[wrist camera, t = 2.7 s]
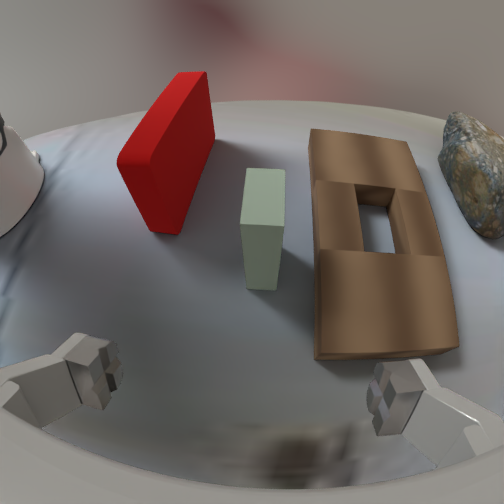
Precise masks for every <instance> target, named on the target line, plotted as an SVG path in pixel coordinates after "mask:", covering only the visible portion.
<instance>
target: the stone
mask: <svg viewBox="0 0 504 504" xmlns="http://www.w3.org/2000/svg"><path fill="white" fill-rule="evenodd" d="M438 162H439V165H440V168H441V171H442V173H443V175H444V176H445V179H446V181H447V183H448V185H449V187H450V189H451V191H452V192H453V194H454V197H455V199H456V202H457V204H458V206H459V208H460V209H461V211H462V213H463V215H464V216H465V218H466V220H467V222H468V223H469V224H470V226H471V227H472V228H473V229H474V230H475V231H476V232H478V233H479V234H481V235H482V236H485V237H487V238H491V239H497V238H500V237H502V236H503V235H504V140H503V139H502V138H501V137H500V136H499V135H498V134H497V133H495V132H494V131H493V130H491V129H490V128H489V127H488V126H486V125H485V124H483V123H482V122H480V121H479V120H477V119H475V118H473V117H471V116H468V115H466V114H464V113H461V112H451V113H450V115H449V116H448V119H447V122H446V125H445V127H444V134H443V149H442V151H441V152H440V154H439V156H438Z"/></svg>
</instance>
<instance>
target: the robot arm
mask: <svg viewBox="0 0 504 504" xmlns="http://www.w3.org/2000/svg"><path fill="white" fill-rule="evenodd" d="M43 178H44V171H43V168H42V166H41V165H40V164H39V154H38V153H37V152H36V151H35V150H34V151H30V150H29V149H28V147H27V146H26V145H25V143H24V142H23V141H22V139H21V138H20V137H19V135H18V134H17V133H16V132H15V130H14V129H13V128H12V127H11V126H4V120H3V118H2V117H1V114H0V237H1V236H2V235H4V234H5V233H6V232H8V231H9V230H10V229H11V228H12V227H13V226H14V225H15V224H16V223H17V222H18V221H19V220H20V219H21V218H22V217H23V216H24V214H25V213H26V212H27V211H28V209H29V208H30V206H31V205H32V203H33V202H34V200H35V198H36V196H37V195H38V193H39V190H40V188H41V185H42V182H43ZM118 353H119V351H118V347H117V344H116V343H115V342H114V341H112V340H108V339H103V338H99V337H95V336H91V335H87V334H83V333H74V334H73V335H72V336H71V337H70V338H69V339H67V340H66V341H65V342H64V343H63V344H62V345H61V346H60V347H59V348H58V349H56V350H55V351H54V352H53V353H52V354H51V355H48V354H46V355H43V356H39V357H36V358H33V359H30V360H26V361H23V362H20V363H16V364H13V365H10V366H6V367H3V368H0V504H504V422H503V421H502V419H501V418H500V416H499V415H497V414H495V413H493V412H491V411H489V410H487V409H485V408H483V407H481V406H480V405H478V404H476V403H474V402H472V401H470V400H468V399H466V398H464V397H462V396H460V395H459V394H457V393H455V392H453V391H451V390H449V389H447V388H441V387H440V385H439V383H438V382H437V380H436V379H435V377H434V376H433V374H432V373H431V371H430V370H429V368H428V367H427V365H426V364H425V362H424V361H423V360H422V359H420V358H419V359H410V360H404V361H390V362H378V363H377V364H376V366H375V369H374V372H373V374H374V376H375V379H374V380H373V381H372V382H371V383H370V384H369V387H368V390H367V399H366V401H367V407H368V410H369V412H370V413H372V414H373V415H374V418H373V420H372V423H373V426H374V429H375V432H376V435H377V436H386V435H395V434H401V435H402V436H403V437H404V438H405V439H406V440H408V441H409V442H410V443H411V444H412V445H413V446H414V447H415V448H417V449H418V450H419V451H420V452H421V453H422V454H423V455H425V456H426V457H427V458H428V459H429V460H430V461H431V462H433V463H434V464H435V465H436V466H437V467H436V468H435V470H432V471H429V472H425V473H421V474H417V475H413V476H408V477H404V478H399V479H394V480H389V481H383V482H377V483H370V484H363V485H355V486H346V487H335V488H321V489H261V488H246V487H235V486H226V485H218V484H211V483H204V482H198V481H192V480H187V479H182V478H177V477H172V476H168V475H164V474H159V473H155V472H151V471H148V470H144V469H140V468H137V467H133V466H130V465H127V464H124V463H120V462H117V461H114V460H111V459H108V458H106V457H103V456H100V455H97V454H95V453H92V452H90V451H87V450H84V449H82V448H80V447H77V446H75V445H72V444H70V443H68V442H66V441H63V440H61V439H59V438H57V437H55V436H53V435H51V434H49V433H47V432H45V431H43V430H42V427H44V426H46V425H48V424H50V423H51V422H53V421H55V420H57V419H59V418H60V417H62V416H64V415H66V414H68V413H69V412H71V411H73V410H75V409H76V408H78V407H80V406H82V404H83V405H86V406H89V407H93V408H96V409H99V410H104V409H105V407H106V406H107V404H108V403H109V401H110V400H111V398H112V397H111V393H110V392H113V391H115V390H117V389H118V387H119V386H120V384H121V381H122V377H123V368H122V364H121V362H120V361H119V360H118V359H117V357H116V356H117V355H118Z"/></svg>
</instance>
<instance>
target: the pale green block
mask: <svg viewBox="0 0 504 504" xmlns="http://www.w3.org/2000/svg"><path fill="white" fill-rule="evenodd" d="M284 215H285V170H282V169H262V168H247V170H246V178H245V186H244V193H243V201H242V209H241V217H240V232H241V241H242V251H243V260H244V269H245V278H246V288H247V289H257V290H274V291H276V289H277V282H278V274H279V266H280V258H281V250H282V241H283V233H284Z"/></svg>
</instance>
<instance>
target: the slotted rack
mask: <svg viewBox="0 0 504 504" xmlns="http://www.w3.org/2000/svg"><path fill="white" fill-rule="evenodd" d="M308 153H309V166H310V180H311V196H312V215H313V240H314V284H315V327H314V360H356V359H385V358H402V357H416V356H427V355H437V354H443V353H445V352H447V351H450V350H452V349H454V348H456V347H459V337H458V329H457V321H456V314H455V307H454V301H453V295H452V289H451V284H450V279H449V274H448V269H447V265H446V260H445V256H444V252H443V248H442V244H441V240H440V236H439V233H438V229H437V226H436V222H435V219H434V215H433V212H432V209H431V206H430V203H429V200H428V197H427V194H426V191H425V188H424V185H423V182H422V179H421V177H420V174H419V171H418V169H417V166H416V164H415V161H414V159H413V156H412V154H411V151H410V149H409V147H408V144H407V142H404V141H399V140H394V139H388V138H382V137H376V136H369V135H363V134H355V133H348V132H340V131H331V130H321V129H311V131H310V138H309V145H308ZM358 204H364V205H374V206H384V207H386V208H387V212H388V217H389V222H390V226H391V231H392V236H393V242H394V247H395V253H396V254H395V253H379V252H364V245H363V238H362V230H361V223H360V217H359V210H358Z"/></svg>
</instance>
